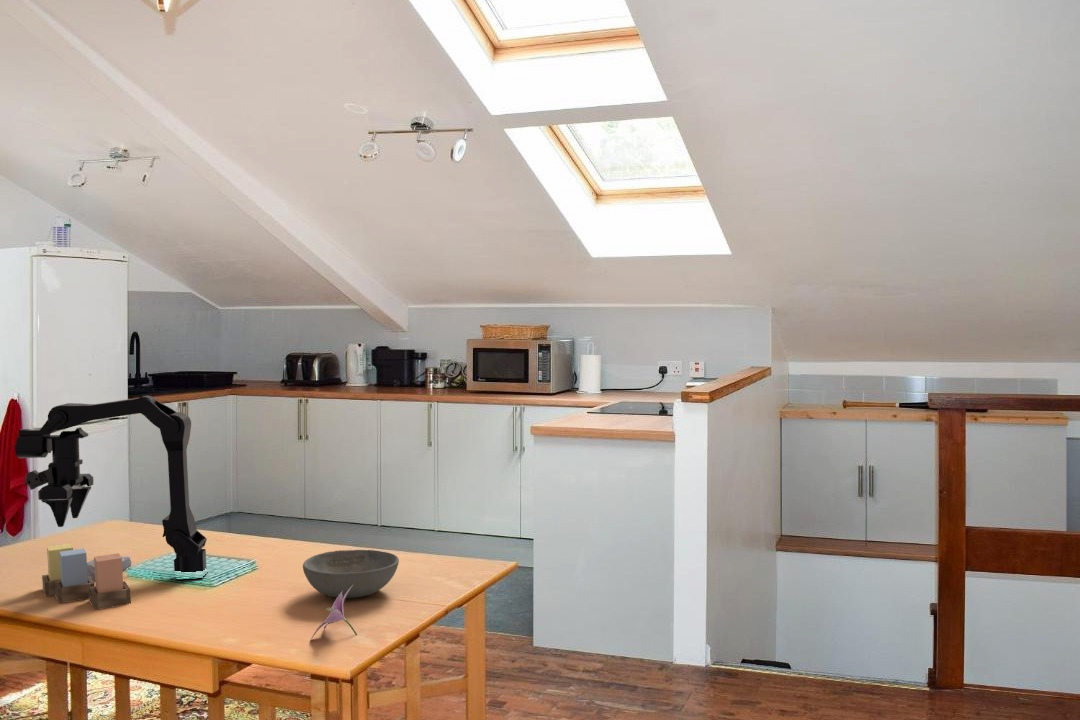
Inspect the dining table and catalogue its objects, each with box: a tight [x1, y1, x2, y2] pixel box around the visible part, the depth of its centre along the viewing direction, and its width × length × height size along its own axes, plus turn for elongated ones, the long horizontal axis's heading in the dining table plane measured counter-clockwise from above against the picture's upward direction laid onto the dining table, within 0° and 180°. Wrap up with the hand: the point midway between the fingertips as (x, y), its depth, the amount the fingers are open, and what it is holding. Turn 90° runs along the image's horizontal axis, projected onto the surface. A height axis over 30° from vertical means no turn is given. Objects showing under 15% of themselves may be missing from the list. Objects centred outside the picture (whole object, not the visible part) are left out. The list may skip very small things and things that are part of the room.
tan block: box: [93, 552, 124, 593], centre depth 207 cm, size 5×5×8 cm
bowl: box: [302, 549, 400, 599], centre depth 209 cm, size 21×21×8 cm
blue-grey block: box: [59, 547, 88, 587], centre depth 212 cm, size 5×5×8 cm
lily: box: [309, 585, 358, 642], centre depth 183 cm, size 12×12×10 cm
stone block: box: [87, 555, 132, 581], centre depth 231 cm, size 12×5×10 cm
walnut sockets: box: [41, 574, 132, 611], centre depth 213 cm, size 15×25×3 cm, turn 32°
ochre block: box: [46, 543, 74, 581], centre depth 218 cm, size 5×5×8 cm
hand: (68, 522), depth 222 cm, fingers open, 9 cm apart
